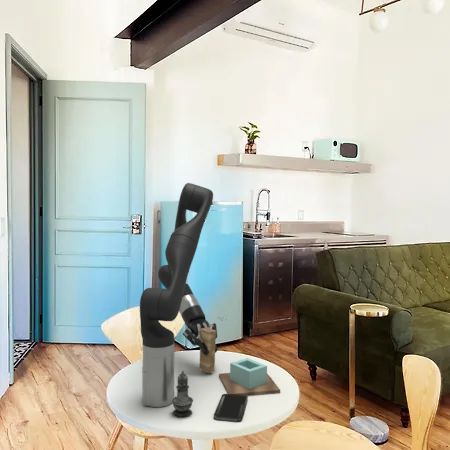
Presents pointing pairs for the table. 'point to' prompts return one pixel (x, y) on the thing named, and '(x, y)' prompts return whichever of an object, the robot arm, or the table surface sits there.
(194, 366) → the table surface
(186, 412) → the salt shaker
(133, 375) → the table surface
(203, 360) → the tall wooden block
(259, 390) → the base plate
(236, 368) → the teal open box
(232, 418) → the phone
